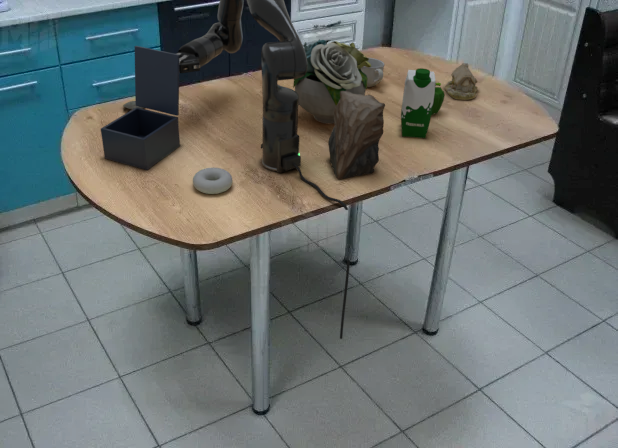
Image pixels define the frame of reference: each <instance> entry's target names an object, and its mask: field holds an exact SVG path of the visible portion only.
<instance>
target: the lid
mask: <svg viewBox="0 0 618 448" xmlns="http://www.w3.org/2000/svg"><path fill="white" fill-rule="evenodd" d="M134 91H135V92H134V93H135V94H134V95H135V96H134V99H135V100H134V101H135V102H136V106H139V107H143V108H142V109H146V110H150V111H154V112H159V113H163V114H167V115H171V116H175V117H178V116H180V73H179V55H178V54H176V53H174V52H169V51H162V50H160V49H159V50H158V49H154V48H149V47H144V46H140V45H135V46H134Z"/></svg>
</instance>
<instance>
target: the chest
mask: <svg viewBox="0 0 618 448" xmlns="http://www.w3.org/2000/svg"><path fill="white" fill-rule="evenodd" d="M100 136H101V141H102V150H103V157H104V159H105V160H108V161H113V162H116V163H120V164H124V165H127V166H131V167H135V168H138V169H142V170H145V171H148V170H149V169H151V168H152V167H154V166H155V165H156V164H159V162H161V161H162V160H163V159H165V158H166V157H167V156H169V155H170V154H171V153H173V152H175V150H177V149H178V148H179V147H181V139H180V125H179V117H178V116H176V115H172V114H168V113H164V112H159V111H155V110H151V109H147V108H138V107H136V108H134V109H133V110H132V109H130V110H129V111H127V112H126V113H124V114H122V115H121V116H119V117H118V118H115V119H114V120H112V121H111V122H109V123H107V124H106V125H104V126H102V127H101V128H100Z"/></svg>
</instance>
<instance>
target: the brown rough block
mask: <svg viewBox="0 0 618 448" xmlns="http://www.w3.org/2000/svg"><path fill="white" fill-rule="evenodd" d="M385 107H386V103H384V102H380V101H379V100H378V99H377V98H376V97H374V95H371V94H365V95H362V94H352V93H351V92H348V91H341V92H340V100H339V102H338V104H337V105H336V108H335V111H334V123H333V125H334V126H333V127H332V131H331V132H330V136H329V138H328V145H327V146H328V152H329V158H330V159H329V163H330V164H331V168H332V170H333V174H334V176H335V177H336V179H337V180H339V181H340V180H344V179H348V178H353V177H360V176H362V175H370V174H372V173H374V172H375V171H376V170H375V169H374V168H375V166H376V165H377V164H378V163H379V161H380V158H379V157H380V156H379V151H380V148H379V144H380V140H381V138H382V136H383V135H384V125H385V124H384V123H385V120H384V109H385Z"/></svg>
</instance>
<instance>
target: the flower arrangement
mask: <svg viewBox="0 0 618 448" xmlns="http://www.w3.org/2000/svg"><path fill="white" fill-rule="evenodd" d="M302 45H303V47H304V50H305V53H306V56H307V62H308V68H307V72H306V74H305V75H304V76H303V77H301V78H297V79H293V86H292V87H293V88H292V89H294V91H295V92H296V93H297V94H298V96H299V107H301V108H302V109H303V110H304V111H305V112H307V113H308V114H309V115H310V116H311V115H312V116H313V117H314V120H315V121H317V122H319V123H321V124H328V125H329V124H331V125H334V111H335V108H336V105H337V104H338V102H339V100H340V92H341V91H348V92H351V93H352V94H362V95H365V96H366V91H367V90H368V89H367V88H368V87H367V80H368V78H367V76H366V74H364V73H363V72H362V71H361V68H362V67H364V66H365V67H368V68H369V67H371V64H370V63H369V62H367V61H368V60H369V58H370V57H367V56H365V55H364V53H363V52H362V51H361V50H359V49H358V48H356V44H355V42H351V43H348V44H346V43H344V42H339V41H336V40H334V41H332V39H327V40H326V39H318V40H316V41H315V42H312V43H309V44H308V42H307V41H304V43H303V44H302Z"/></svg>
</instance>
